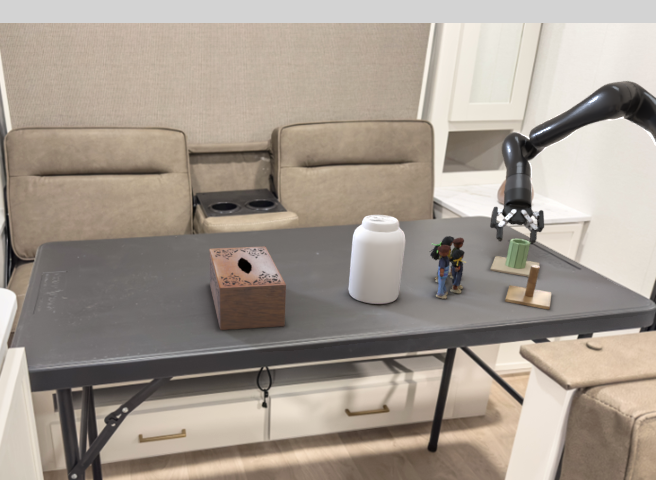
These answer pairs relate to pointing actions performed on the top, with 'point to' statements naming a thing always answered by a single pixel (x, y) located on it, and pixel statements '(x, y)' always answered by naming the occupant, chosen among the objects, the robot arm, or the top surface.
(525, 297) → the stacking stand
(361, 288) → the can
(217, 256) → the tissue box cover
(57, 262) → the top surface
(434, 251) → the doll family
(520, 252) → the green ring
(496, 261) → the oatmeal mat
